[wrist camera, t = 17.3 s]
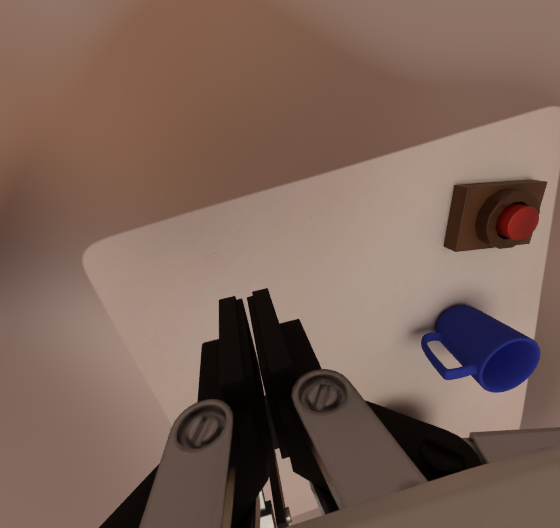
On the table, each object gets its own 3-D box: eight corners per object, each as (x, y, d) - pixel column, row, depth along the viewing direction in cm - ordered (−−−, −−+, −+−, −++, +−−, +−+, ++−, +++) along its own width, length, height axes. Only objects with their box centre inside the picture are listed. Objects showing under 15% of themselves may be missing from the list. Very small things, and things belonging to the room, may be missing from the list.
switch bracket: (218, 408, 44) (218, 527, 31) (272, 393, 45) (295, 502, 31) (234, 454, 48) (240, 576, 35) (283, 439, 49) (308, 553, 35)
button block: (443, 246, 41) (465, 256, 37) (454, 185, 38) (479, 190, 34) (514, 238, 43) (542, 248, 39) (530, 179, 40) (562, 183, 36)
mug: (404, 310, 44) (453, 355, 35) (480, 292, 45) (547, 331, 36) (403, 355, 47) (448, 407, 38) (474, 337, 48) (534, 384, 39)
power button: (492, 237, 37) (504, 241, 36) (499, 204, 36) (513, 207, 34) (520, 234, 38) (533, 238, 36) (529, 202, 36) (543, 205, 35)
